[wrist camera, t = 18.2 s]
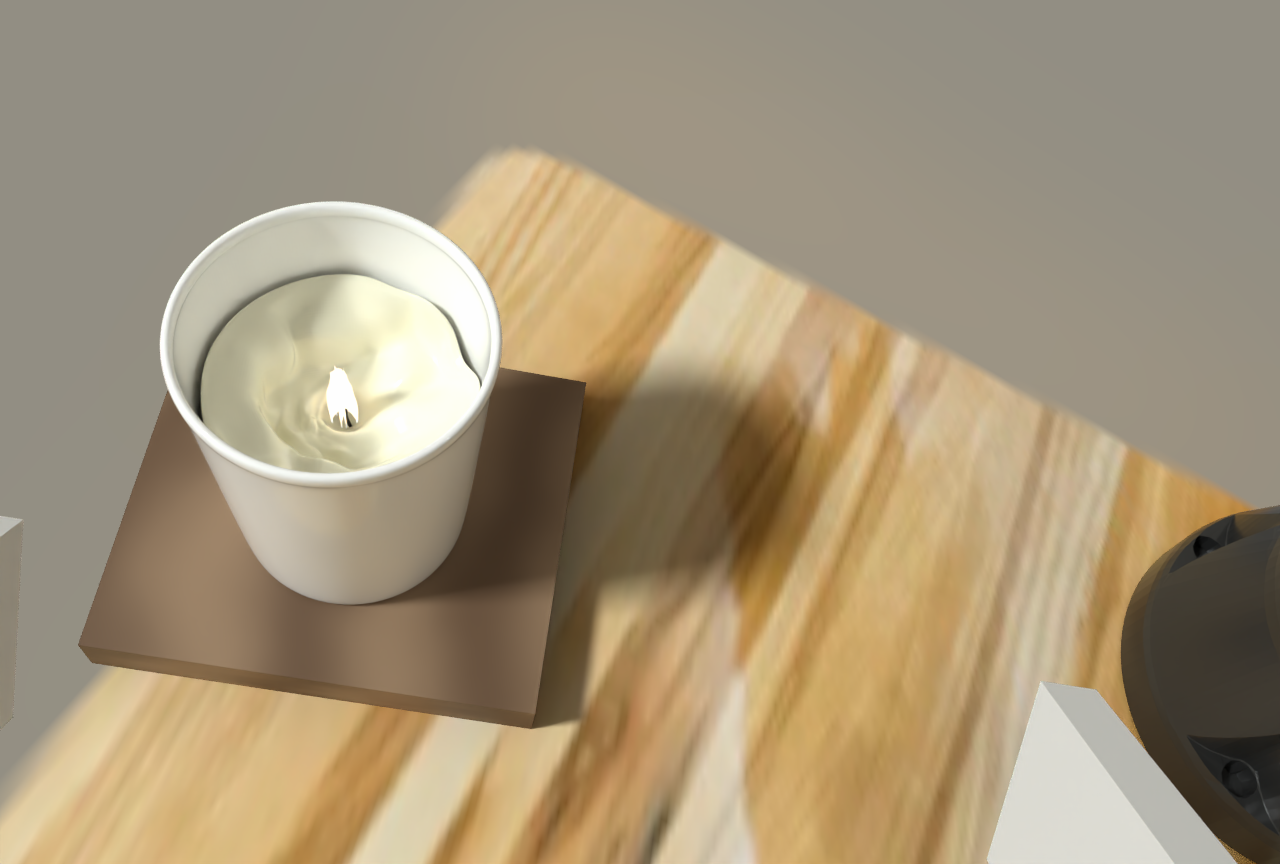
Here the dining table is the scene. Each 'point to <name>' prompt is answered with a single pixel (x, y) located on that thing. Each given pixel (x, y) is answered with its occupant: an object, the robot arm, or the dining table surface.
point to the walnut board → (364, 633)
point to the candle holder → (337, 391)
